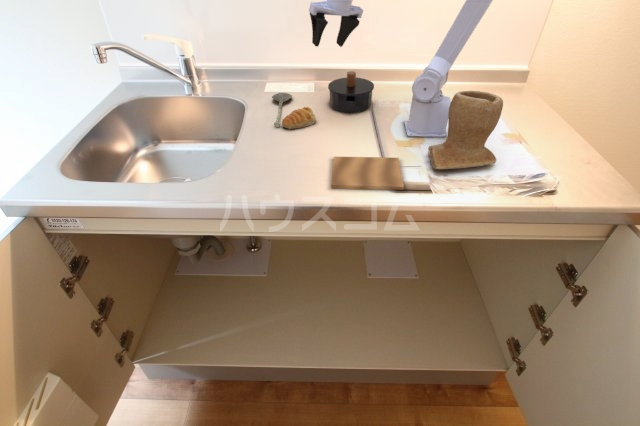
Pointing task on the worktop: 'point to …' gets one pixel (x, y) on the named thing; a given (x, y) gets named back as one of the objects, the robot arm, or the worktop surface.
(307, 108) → the pastry
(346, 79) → the lid
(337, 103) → the pot
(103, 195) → the worktop surface
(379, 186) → the board
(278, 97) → the soupspoon
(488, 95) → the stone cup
